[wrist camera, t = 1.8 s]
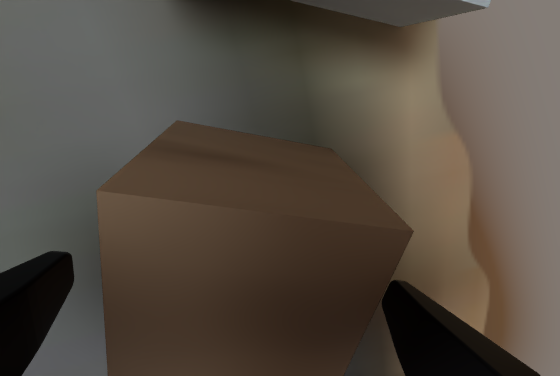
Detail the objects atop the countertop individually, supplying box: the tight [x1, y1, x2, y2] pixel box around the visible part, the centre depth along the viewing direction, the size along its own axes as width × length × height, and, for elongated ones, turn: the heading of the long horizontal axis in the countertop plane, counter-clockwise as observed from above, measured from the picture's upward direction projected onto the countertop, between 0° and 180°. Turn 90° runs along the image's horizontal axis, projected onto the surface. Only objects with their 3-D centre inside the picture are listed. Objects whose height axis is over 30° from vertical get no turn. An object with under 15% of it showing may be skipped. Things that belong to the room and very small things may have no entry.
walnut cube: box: [96, 121, 414, 376], centre depth 9 cm, size 6×6×6 cm
